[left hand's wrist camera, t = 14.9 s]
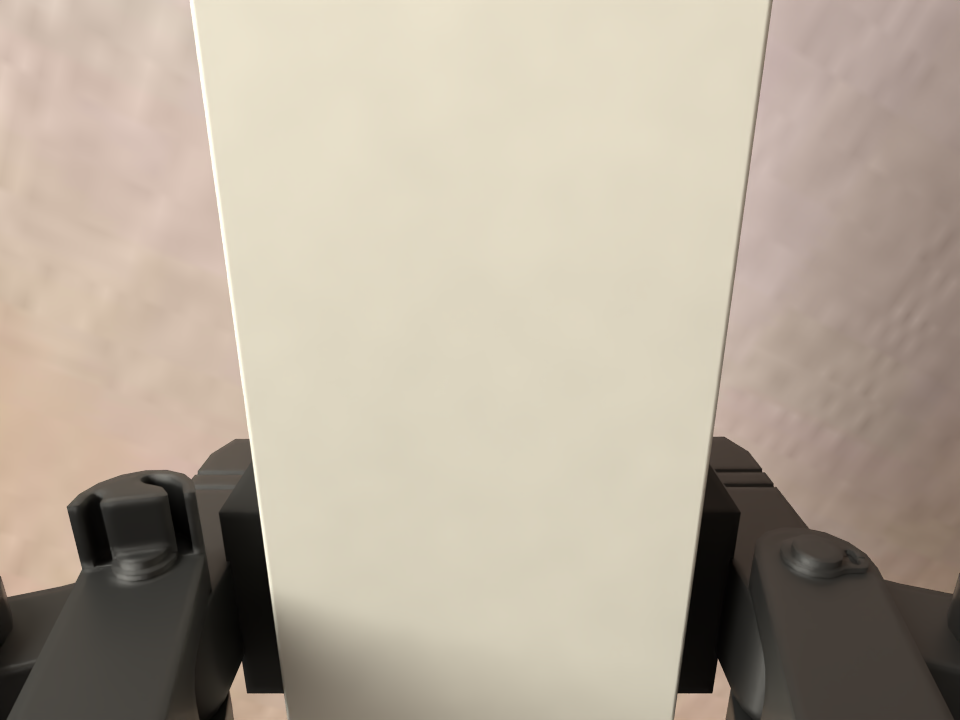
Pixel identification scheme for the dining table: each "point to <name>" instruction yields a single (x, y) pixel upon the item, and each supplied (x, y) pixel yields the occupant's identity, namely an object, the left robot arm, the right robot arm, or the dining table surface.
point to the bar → (481, 335)
